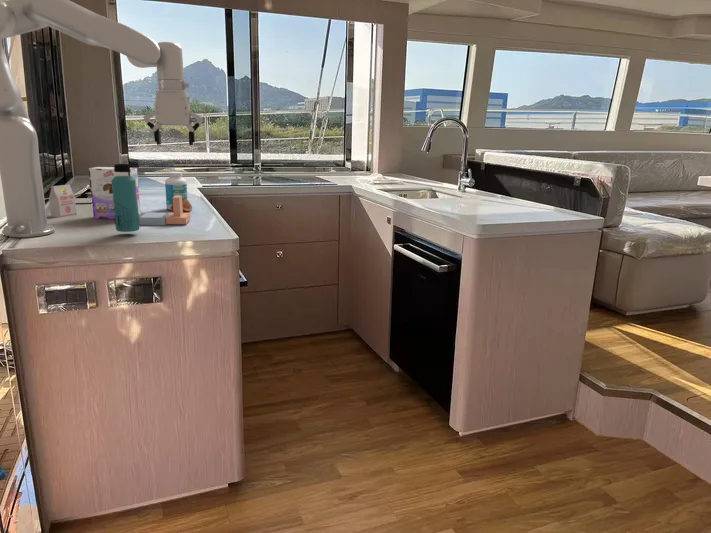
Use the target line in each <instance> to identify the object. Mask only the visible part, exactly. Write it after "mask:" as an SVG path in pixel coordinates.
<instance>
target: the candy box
mask: <svg viewBox="0 0 711 533" xmlns="http://www.w3.org/2000/svg"><path fill="white" fill-rule="evenodd" d="M87 169H88V176H89V177H88V178H89V186H90V195H91V204H92V205H91V206H92V212H93V219H98V220H100V219H101V220H103V219H104V220H115V213H114V202H113V190H112V182H111V180H112V179H113V178H114V177H115V176H131V177H133V178H134V179H135V180H136V182H135V183H136V195H137V204H138V213H142V212H141V211H142V210H141V201H140V198H141V197H140V187H139V175H138V167H137V168H136V167H130V170H131V172H114V166H94V167H89V168H87Z"/></svg>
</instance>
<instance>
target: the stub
mask: <svg viewBox="0 0 711 533" xmlns="http://www.w3.org/2000/svg"><path fill="white" fill-rule="evenodd" d="M172 211H173V212H169V213H170V214H169V215H168V216H167V217H166V225H187V224H188V223H189V222H190V220H191V212H189V213H183V206H182V195H175V196H174V197H173V210H172Z"/></svg>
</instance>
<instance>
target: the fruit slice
mask: <svg viewBox="0 0 711 533" xmlns="http://www.w3.org/2000/svg"><path fill="white" fill-rule="evenodd" d="M182 206H183V213H191V212H192V210H193V205H192V204H191V202H190V201H189V199H188V198H187V199H184V200H182ZM170 208H171V209H172V210H171V211H173V205H172V206H171V207H170Z"/></svg>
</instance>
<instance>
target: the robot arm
mask: <svg viewBox="0 0 711 533" xmlns="http://www.w3.org/2000/svg"><path fill="white" fill-rule="evenodd" d="M47 27H50V28H51V29H53V30H56V31H57V32H58V31H59V32H60V33H62V34H65V35H67V36H70V37H71V38H74V39H76V40H77V41H80V42H81V43H84V44H86V45H89V46H93V47H94V46H95V47H102V48H106V49H109V50H111V51H113V52H116V53H119V54H121V55H124V56H126V58H127V60H128V62H129V63H130V64H131V65H133V66H135V67H136V68H141V69H143V68H145V69H146V68H156V76H157V88H158V89H157V90H156V92H155V100H154V111H152V112H149V113H147V114H145V115H144V116H143V119H144V121H145V123H146V125H147V126H148V127H149V128H150V129H151V130H152V131H153V135H154V136H153V138H154V142H155V143H156V145H157V146H159V145H161V144H162V137H161V136H162V135H161V131H160V128H161V127H162V126H186V128H187V129H188V130H189V132H188V143H189V146H193V145H194V143H196V140H195V139H196V138H195V132H196V130H198V128H199V127H200V126H201V124H202V122H203V119H204V118H203V116H200V115H199V114H197V113H196V112H193V111H191V103H190V98H189V93H188V92H187V91H186V89H190V83H188V82H186V81H185V78H184V77H185V76H184V75H185V74H184V62H183V48H182V46H181V45H180V44H179V43H176V42H173V41H172V42H170V41H161V42H160V41H159V42H156V41H155V40H154V39H152V38H151V37H149V36H148V35H146V34H144V33H142V32H140V31H137V30H136V29H134V28H131V27H129V26H127V25H125V24H123V23H121V22H118V21H116V20H113V19H110V18H108V17H106V16H103V15H101V14H99V13H96V12H94V11H92V10H90V9H87V8H85V7H84V6H82V5H79V4H77V3H75V2H74V1H71V0H0V181H1V187H2V188H1V189H2V194H3V202H4V208H5V216H6V223H7V225H5V226H4V227H3V230H2V231H1V234H2V233H3V234H4V235H6V236H5V237H7V236H9V237H8V238H32V237H33V238H34V237H40V236H42V237H43V236H46V235H49V234H50V235H51V234H53V233H54V232H55V227H54V226H52V225H48V219H47V210H46V202H45V195H44V194H45V193H44V184H43V176H42V171H41V170H42V168H41V161H40V153H39V152H40V151H39V150H40V149H39V138H38V135H37V134H38V133H37V131H36V129H35V127H34V125H33V124H32V122H31V120H30V117H29V114H28V111H27V109H26V105H25V103H24V100H23V98H22V94H21V90H20V86H18V85H19V84H17V81H16V80H15V78H14V75H13V73H12V69H11V67H10V65H9V64H10V63H9V60H8V57H7V55H6V52H5V48H4V46H3V39H9V38H12V37H16V36H20V35H22V34H23V35H24V34H27V33H30V32H36V31H38V30H41V29H44V28H47ZM153 117H154V118H155V124H154V123H153V122H152V121H151V118H153ZM192 118H194V119H196V121H195V124H194V125H192ZM4 235H3V236H4Z"/></svg>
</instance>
